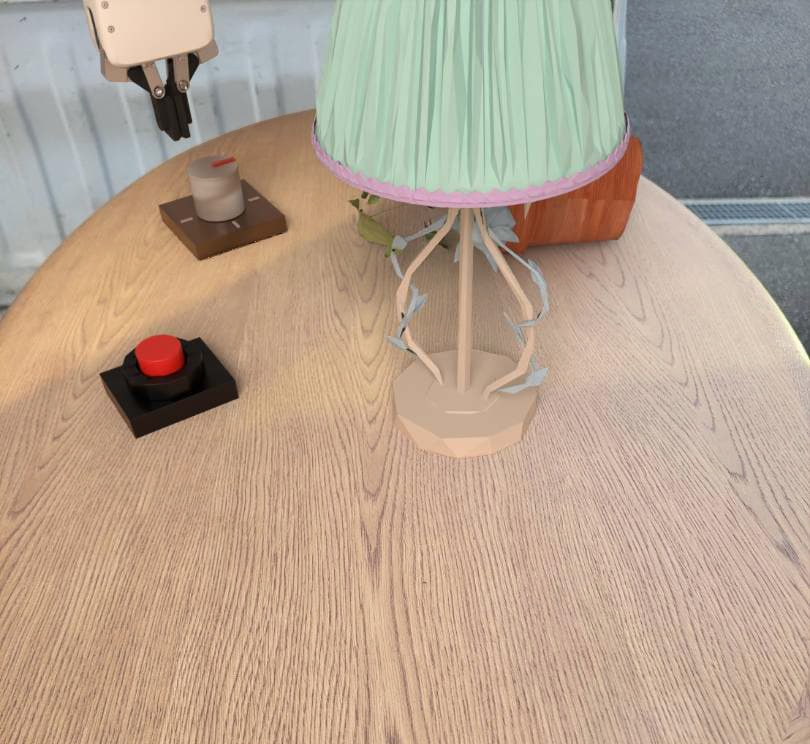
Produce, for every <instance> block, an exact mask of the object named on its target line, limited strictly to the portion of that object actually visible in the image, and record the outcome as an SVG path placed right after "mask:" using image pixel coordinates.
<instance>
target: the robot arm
mask: <svg viewBox="0 0 810 744" xmlns="http://www.w3.org/2000/svg"><path fill="white" fill-rule="evenodd" d="M82 5H83V8H84V14H85V17H86V23H87V28H88V30H89V34H90V38H91V41H92V44H93V46H94V48H95V50H96V52H98V53H99V60H100V73H101V75H102V77H103V78H105V79H106V81H108V82H111V83H134V84H135V85H137V86H138V87H140V88H141V89H142V90H144V91H145V92H147V93H148V94H149V96H150V101H151V105H152V110H153V113H154V118H155V122H156V124H157V127H158V129H159V131H161V132H164V133H165V134H166V135H167V136H168V137H169V138H170V139H171V140H172V141H173V142H174V143H175V142H178V141H180V140H181V139H186V140H187V139H190V138H191V131H190V126H189V125H190V124H191V125H192V124H193V118H192V114H191V107H190V103H189V98H188V93H187V92H189V90H190V88H191V83H190V82H191V80H192V79H193V77H194V76H195V73H196V71H197V70H198V68H199V66H200V65H203V64H205V63H207V62H208V61H210V60H212V59H214V58H216V57H217V56H218V55H219V47H218V45H217V42H216V40H215V24H214V18H213V13H212V9H211V4H210V0H82ZM163 60H164V64H165V75H166V80H165V83H164V84H163V81H162V78H161V75H160V73H159V70H158V67H157V65H156V62H158V61H163Z"/></svg>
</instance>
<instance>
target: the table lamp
mask: <svg viewBox="0 0 810 744" xmlns="http://www.w3.org/2000/svg"><path fill="white" fill-rule="evenodd" d="M326 41H327V42H326V46H325V53H324V56H323V61H322V67H321V71H320V76H319V81H318V86H317V91H316V97H315V114H314V118H313V122H312V125H311V130H310V132H311V133H310V136H311V137H310V138H311V142H310V143H311V145H312V149H313V152H314V155H315V156H316V159H317V160H318V161H319V163H320V164H321V165H322V166H323V167H324V169H326V170H327V171H328V172H329V173H330V174H331V175H333V176H334V177H336V178H337V179H339V180H340V181H342V182H343V183H345V184H347V185H349V186H351V187H353V188H355V189H357V190H360V191H362V192H363V191H365V192H368V194H370V195H371V194H373V195H377V196H380V198H385V199H389V200H392V201H396V202H400V203H405V204H408V203H410V204H411V205H419V206H425V205H426V206H425V207H427V206H431V207H434V208H448V211H447V214H448V215H447V214H444V215H442V216H440V217H437V218H434V219H431V225H430V224H429V225H427V226H428V227H426V228H425V227H424V228H423V229H421V230H419V231H418V232H416V233H415V234H412V235H410V236H407V237H404V238H403V236H401V235H399V234H398V235H395V236H394V241H393V243H392V248H391V255H390V257H389V258H390V260H391V262H392V265H393V268H394V271H395V273H396V275H397V276H398V277H399V278H400V279H401V282H400V285H399V287H398V288H397V291H396V317H397V319H398V322H399V325H398V327H397V331H396V335H395V337H394V336H391V335H386V334H385V338H386V340H387V342H388V343H389V344H391V345H392V346H394V347H395V348H397V349H398V350H401V351H403V352H406V353H409V354H410V355H412V356H414V357H416V359H415V360H414V361H413V362H412V363H411V364H410V365H409V366H407V368H405V369H404V370H403V371H402V372H401V373H400V374H399V375H398V376H397V377H396V378H395V379H394V380H393V381H392V425H393V426H394V428H396V429H397V430H398V431H399V432H400V433H401V434H402V435H404V436H405V437H406V438H407V439H408V440H409V441H410V442H411V443H412V444H414V445H415V446H416V447H417V448H418V449H419V450H421V451H427V452H430V453H433V454H437V455H442V456H445V457H449V458H453V459H456V460H457V459H458V460H459V459H460V460H461V459H467V458H468V459H469V458H474V457H475V458H477V457H484V456H490V455H495V454H496V453H499V452H501V451H503V450H505V449H507V448H509V447H511V446H513V445H516V444H517V443H519V442H522V440H523V437H524V435H525V433H527V430H528V428H529V427H530V424H531V423H532V421H533V418H534V416H535V415H536V410H537V401H538V392H537V389H536V387H537V386H538V387H539V386H540V385H541V384H542V383H543V381H544V379H545V378H546V377H547V374H548V372H549V369H550V366H547V367H544V368H540V369H538V368H539V366H538V364H537V362H536V360H535V358H534V356H533V350H534V348H535V344H536V340H537V337H538V336H537V330H536V324H537V323H538V322H539V321H540V320H542V319H543V318H544V316H545V315H546V314H547V313H548V312H549V311H550V310H549V309H550V308H549V300H548V293H547V289H548V286H547V283H546V280H545V277H544V274H543V272H542V270H541V268H540V266H539V265H537V263H536V262H535V261H533V260H532V259H530V258H527V260H528V262H527V261H526V260H524V259H523V258H521V256H520V255H518V254H517V253H514V252H512V251H511V250H510V249H509V248H507V247H506V246H505V244H506V242H507V241H509V242H518V243H519V239H518V237H517V236H516V235H515V234H514V233H513V231H512V230H513V228H514V226H515V224H516V222H515V220H514V218H513V216H512V214H511V212H510V210H509V208H508V205H515V204H522V203H524V214H525V218H526V216H527V213H528V210H529V207H530V205H531V202H535V201H538V200H543V199H547V198H550V197H554V196H557V195H561V194H564V193H567V192H570V191H573V190H575V189H578V188H580V187H582V186H585V185H587V184H589V183H590V182H592V181H594V180H596V179H598V178H600V177H601V176H602V175H604V174H606V173H607V172H608V171H609V170H610V169H612V168H613V167H614V166H615V165H616V164H617V163H618V162H619V160H620V159H621V158H622V157H623V156H624V153H625V151H626V149H627V146H628V142H629V138H630V136H631V131H632V130H631V129H632V128H631V125H630V119H629V115H628V113H627V112H626V109H625V106H624V87H623V70H622V60H621V55H620V50H619V45H618V40H617V34H616V29H615V23H614V15H613V9H612V2H611V0H335V3H334V7H333V13H332V17H331V22H330V26H329V32H328V36H327V40H326ZM459 209H461V212H460V215H459V216H457V217H456V215H457V213H458V211H459ZM451 229H452V230H455V231H457V233H458V234H459V242H458V243H457V245H456V247H455V254H454V259H453V263H457V262H458V261H459V263H458V265H459V266H458V268H459V269H458V271H459V272H458V313H457V314H458V315H457V317H458V318H457V321H458V322H457V349H451V350H446V351H440V352H433V353H428V354H427V353H426V352H425V350H424V349H423V348H422V346H421V345H420V344H419V343H418V342H417V340H416V339H415V338H414V335H413V332H412V328H411V326H410V323H409V321H410V319H411V317H412V315H413V313H414V312H415V313H417V312H418V311H420V310H421V309H422V307H423V306H424V305H425V303H426V301H427V298H428V296H429V292H426V293H424V294H421V295H419V288H418V287H417V286H416V285H414V284H413V283H412V282H411V277H412V274H413V273H414V272H415V271H416V270H417V269H418V268H419V266H420V265H421V264H422V263H423V262H424V261H425V259H426V258H427V257H428V256H429V254H430V253H432V251H433V250H434V249H435V248H436V246H437V245H439V244H438V243H439V242H440V240H443V239H444V237H446V235H447V234H448V232H450V230H451ZM432 231H436V232H437V233H436V234H435V235H434V236H433V238H432V239H431V240H428V242H427V243H426V245H424V246H423V248H422V249H421V250H420V251H419V253H417V255H416V256H415V257H414V258H413V259H412V261H411V262H410V264H409V266H408V268H407V270H406V272H405V274H404V275H403V274H402V271H401V267H400V265H399V262H398V259H397V256H396V255H395V251H396V250H397V249H401V250H403V249H404V248H405V249H406V246H408V242H409V241H412V240H414V239H417V238H419V237H422V236H424V235H425V236H426V234H427V233H430V232H432ZM498 246H500V247H503V248H504V249H505V250H506V251H508V252H509V253H508V254H510V255H511V256H513V257H514V258H515V259H516V260H517V261H519V262H520V263H521V264H522V265H523V266H525V267H526V268H527V269H528V270H529V272H530V275H531V278H532V281H533V282H534V283H535V284H536V285H537V286H538V289H539V292H540V295H541V299H542V303H543V307H542V309H541V310H540V311H539V313H538V314H537V316H536V318H535V316H534V315H535V314H534V309H533V308H534V307H533V305H532V303H531V302H530V300H529V299H528V296H527V295H526V293H525V291H524V290H523V288H522V287H521V285H520V283H519V281H518V280H517V278H516V275H515V274H514V272H513V271H512V269H511V267H510V265H509V264H508V262H507V261H506V258H505V257H504V255H503V253H501V252H500V250H499V248H498ZM474 247H475V248H476V249H478V250H480V251H481V252H483V254H484V255H485V257H486V259H487V261H488V262H489V264H490V265H491V268H492V269H493V271H494V273H495V274H498V269H499V270H500V272H501V274H502V275H503V277H504V279H505V281H506V282H507V284H508V286H509V288H510V289H511V291H512V292H513V294H514V296H515V297H516V299H517V301H518V303H519V306H520V310H521V314H522V319H523V322H519V323H517V324H516V326H515V324H514V323H513V322H512V320H511V319H510V318H509V316H508V315H507V313H506V312H505V311H503V314H504V316H505V319H506V321H507V324H509V327H510V329H511V331H512V333H513V335H514V337H515V339H516V340H517V342H521V343H522V346H523V348H524V349H523V352H522V354H521V357H520V359H519V362H518V363H516V362H515V361H514V360H512V359H511V358H510V357H508V356H506V355H502V354H496V353H492V352H488V351H485V350H479V349H475V348H472V320H473V319H472V318H473V280H474V279H473V278H474V276H473V275H474ZM405 249H404V250H405ZM409 288H410V289H411V291H412V292H411V293H412V297H411V300H410V304H409V306H408V308H407V310H405V303H406V299H407V295H408V290H409ZM418 295H419V296H418ZM522 328H525V332H526V335H527V336H526V339H525V337H524V335H523V331H522ZM403 335H404V338H405V340H406V342H407V345H408V346H406V344H405V342H404V340H402V339H403ZM519 339H520V340H519ZM409 347H410V348H409ZM530 363H531V365H532V369H531V372H530V373H529V372H528V371H527V370H528V367H529V364H530Z"/></svg>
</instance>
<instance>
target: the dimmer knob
mask: <svg viewBox="0 0 810 744" xmlns="http://www.w3.org/2000/svg"><path fill="white" fill-rule="evenodd" d="M186 173H187V179H188V182H189V187H190V192H191V195H192V197H193V201H194V206H195V210H196V214H197V216H198V217H199V218H201V219H203V220H206V221H213V222H219V221H226V220H230V219H233V218H235V217H237V216H239V215H240V214H242V213H243V211H244V209H245V204H244V198H243V192H242V187H241V181H240V180H241V176H240V171H239V165H238V162H237V160H236V158H235V157H234V156H230V157H229V156H225V155H211V156H204V157H201V158H198V159H196V160H193V161H191V162H190V163H189V164H188V165H187V167H186Z"/></svg>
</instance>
